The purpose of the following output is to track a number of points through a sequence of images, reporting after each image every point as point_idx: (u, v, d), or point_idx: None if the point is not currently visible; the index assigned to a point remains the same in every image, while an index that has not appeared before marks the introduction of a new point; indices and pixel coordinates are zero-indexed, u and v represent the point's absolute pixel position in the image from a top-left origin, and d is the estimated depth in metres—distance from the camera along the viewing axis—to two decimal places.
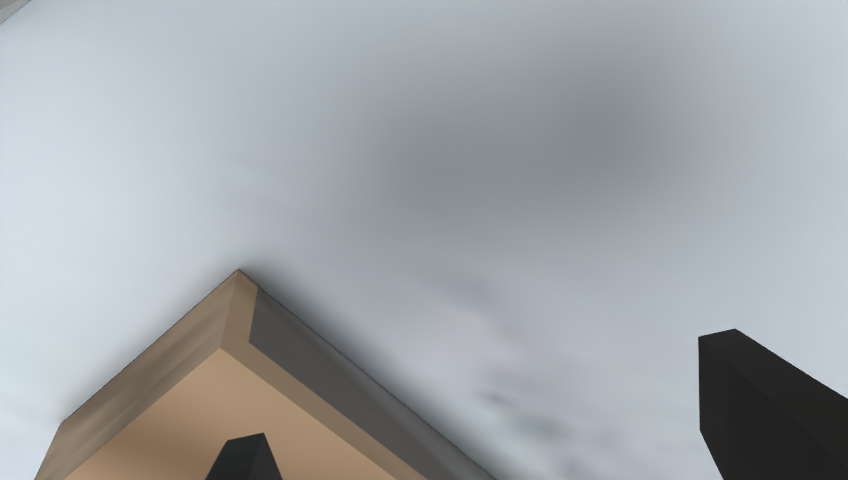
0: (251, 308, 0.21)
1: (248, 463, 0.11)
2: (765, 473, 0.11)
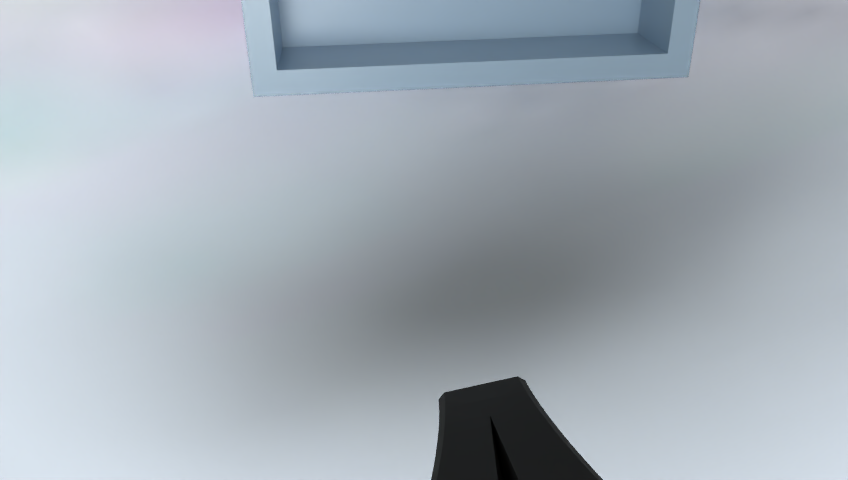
0: None
1: (483, 411, 0.11)
2: None
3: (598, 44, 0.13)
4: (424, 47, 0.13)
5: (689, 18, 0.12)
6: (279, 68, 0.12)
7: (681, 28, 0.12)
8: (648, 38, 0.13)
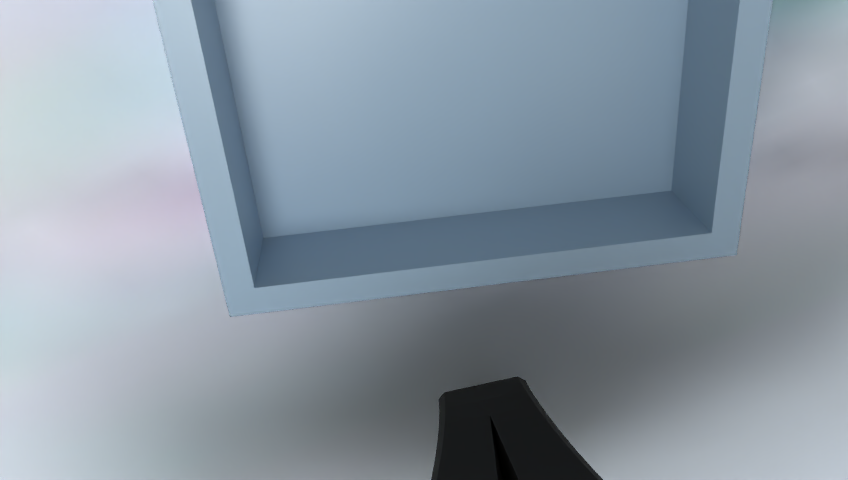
0: None
1: (483, 411, 0.11)
2: None
3: (628, 217, 0.11)
4: (426, 230, 0.11)
5: (735, 194, 0.10)
6: (257, 283, 0.10)
7: (726, 205, 0.10)
8: (685, 203, 0.11)
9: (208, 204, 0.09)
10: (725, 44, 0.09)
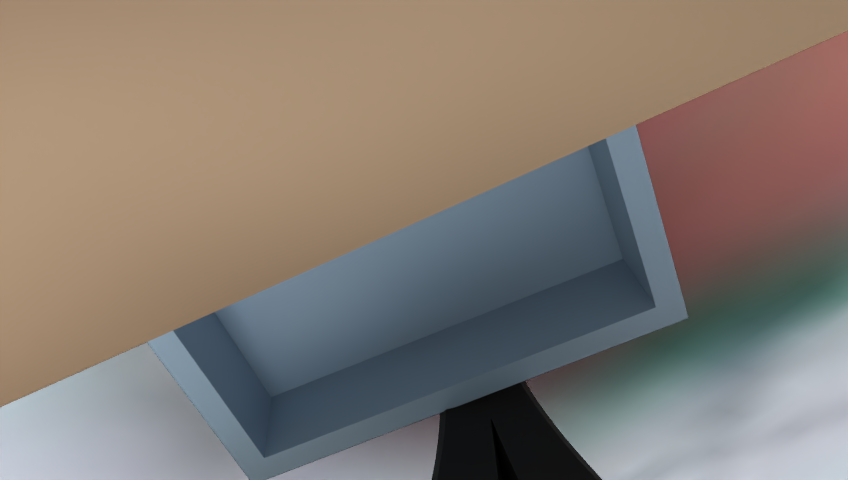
0: None
1: (484, 411, 0.11)
2: None
3: (581, 303, 0.11)
4: (403, 358, 0.12)
5: (666, 269, 0.10)
6: (267, 452, 0.11)
7: (660, 281, 0.11)
8: (634, 273, 0.11)
9: (201, 408, 0.11)
10: (605, 151, 0.10)
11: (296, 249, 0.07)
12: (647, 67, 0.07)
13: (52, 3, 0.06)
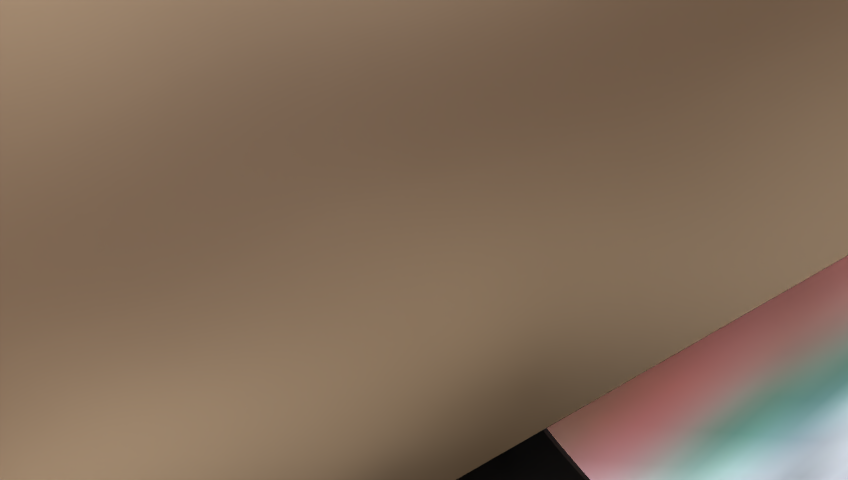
0: None
1: None
2: None
3: None
4: None
5: None
6: None
7: None
8: None
9: None
10: None
11: None
12: (665, 321, 0.08)
13: (194, 370, 0.08)
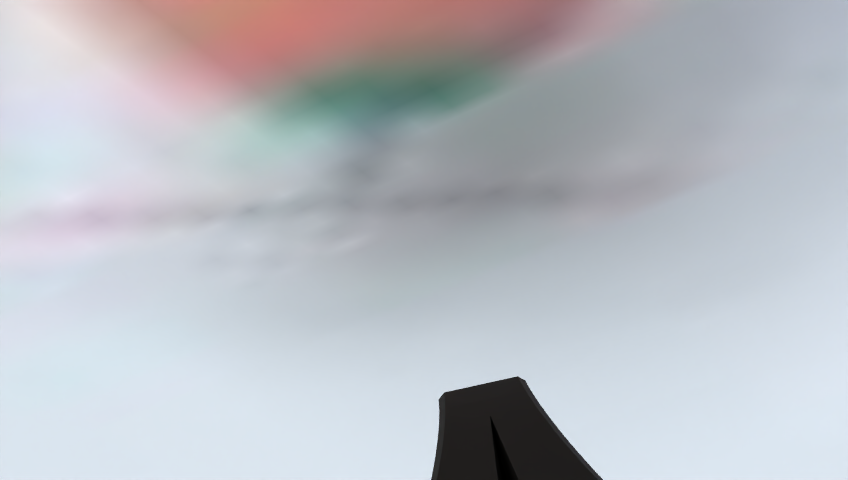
0: None
1: (483, 411, 0.11)
2: None
3: None
4: None
5: None
6: None
7: None
8: None
9: None
10: None
11: None
12: None
13: None
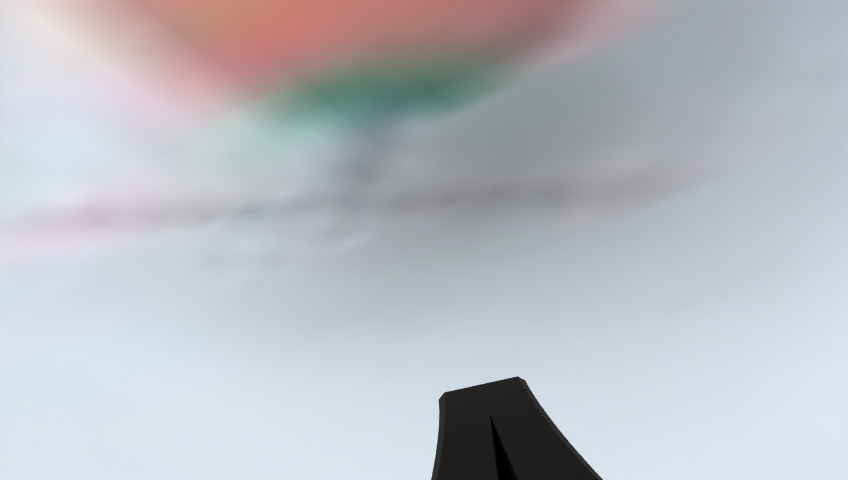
0: None
1: (483, 411, 0.11)
2: None
3: None
4: None
5: None
6: None
7: None
8: None
9: None
10: None
11: None
12: None
13: None
